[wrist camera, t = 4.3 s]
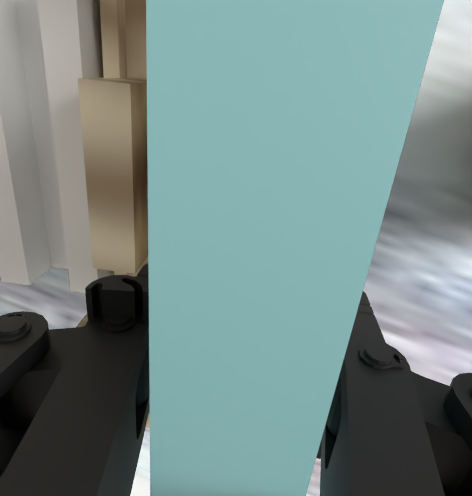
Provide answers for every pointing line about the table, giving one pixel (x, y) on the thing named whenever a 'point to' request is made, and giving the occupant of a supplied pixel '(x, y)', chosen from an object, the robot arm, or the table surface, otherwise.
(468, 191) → the table surface
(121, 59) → the rack
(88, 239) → the stand
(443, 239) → the table surface
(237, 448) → the teal rectangular panel
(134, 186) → the offcut short
